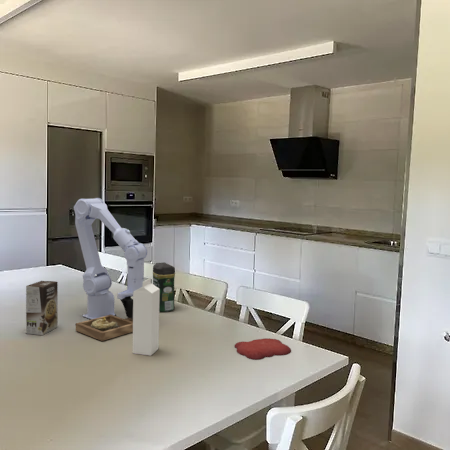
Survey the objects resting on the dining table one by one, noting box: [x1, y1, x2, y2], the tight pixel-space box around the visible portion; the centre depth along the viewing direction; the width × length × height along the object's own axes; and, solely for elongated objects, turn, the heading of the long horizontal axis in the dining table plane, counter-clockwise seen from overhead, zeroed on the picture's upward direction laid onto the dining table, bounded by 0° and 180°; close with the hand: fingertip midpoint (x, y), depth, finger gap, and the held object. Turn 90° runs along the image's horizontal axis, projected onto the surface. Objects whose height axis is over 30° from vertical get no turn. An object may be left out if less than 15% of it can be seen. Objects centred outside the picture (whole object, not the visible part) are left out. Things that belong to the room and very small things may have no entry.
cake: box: [91, 317, 119, 331], centre depth 158 cm, size 10×10×5 cm
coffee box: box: [25, 280, 59, 336], centre depth 156 cm, size 9×6×16 cm
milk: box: [132, 277, 160, 357], centre depth 141 cm, size 6×6×22 cm
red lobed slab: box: [234, 337, 292, 361], centre depth 146 cm, size 18×14×2 cm
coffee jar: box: [152, 262, 176, 313], centre depth 186 cm, size 10×8×19 cm
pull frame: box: [75, 310, 133, 342], centre depth 160 cm, size 20×14×6 cm
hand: (135, 315), depth 168 cm, fingers open, 5 cm apart
